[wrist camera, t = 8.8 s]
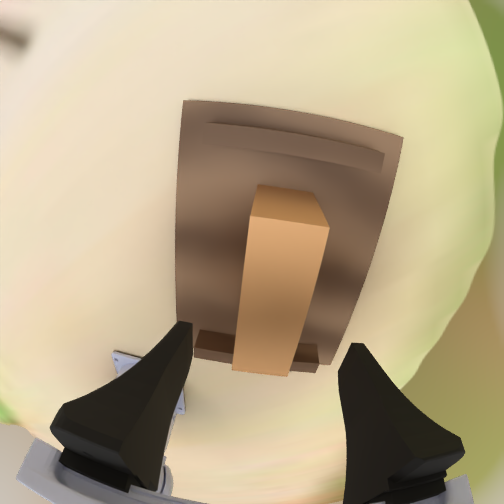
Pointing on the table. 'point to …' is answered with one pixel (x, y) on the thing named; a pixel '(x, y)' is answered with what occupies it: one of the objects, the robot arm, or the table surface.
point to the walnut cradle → (240, 205)
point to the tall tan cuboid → (278, 278)
